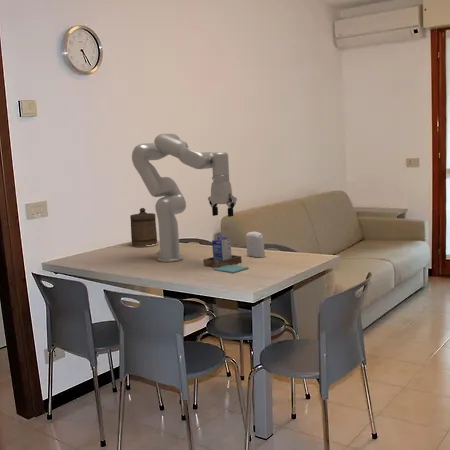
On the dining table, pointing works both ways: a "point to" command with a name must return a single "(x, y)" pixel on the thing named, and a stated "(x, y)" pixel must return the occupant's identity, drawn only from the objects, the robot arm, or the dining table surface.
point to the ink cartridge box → (221, 248)
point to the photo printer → (255, 244)
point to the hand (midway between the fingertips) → (222, 215)
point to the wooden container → (143, 228)
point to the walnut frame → (217, 264)
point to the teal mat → (231, 268)
